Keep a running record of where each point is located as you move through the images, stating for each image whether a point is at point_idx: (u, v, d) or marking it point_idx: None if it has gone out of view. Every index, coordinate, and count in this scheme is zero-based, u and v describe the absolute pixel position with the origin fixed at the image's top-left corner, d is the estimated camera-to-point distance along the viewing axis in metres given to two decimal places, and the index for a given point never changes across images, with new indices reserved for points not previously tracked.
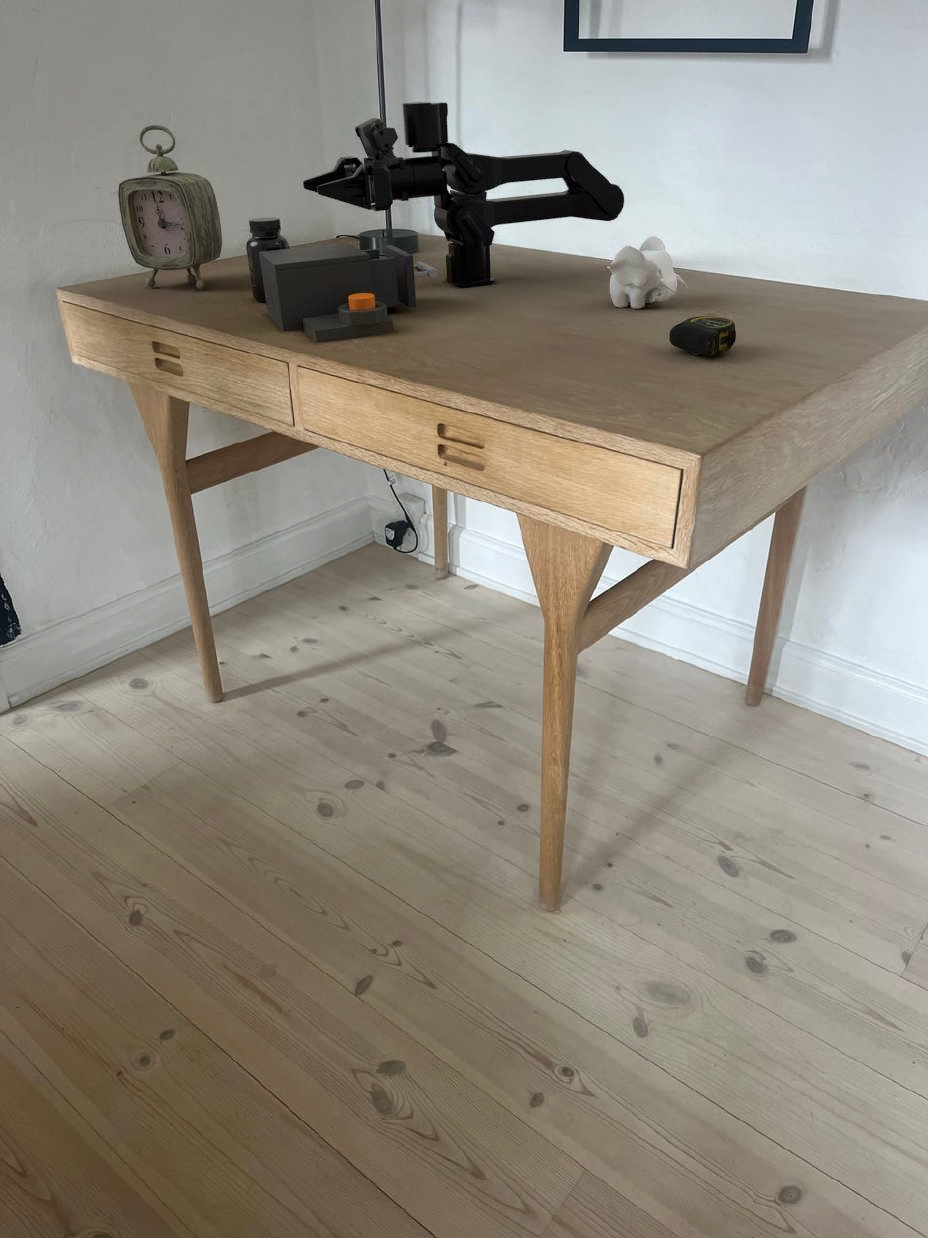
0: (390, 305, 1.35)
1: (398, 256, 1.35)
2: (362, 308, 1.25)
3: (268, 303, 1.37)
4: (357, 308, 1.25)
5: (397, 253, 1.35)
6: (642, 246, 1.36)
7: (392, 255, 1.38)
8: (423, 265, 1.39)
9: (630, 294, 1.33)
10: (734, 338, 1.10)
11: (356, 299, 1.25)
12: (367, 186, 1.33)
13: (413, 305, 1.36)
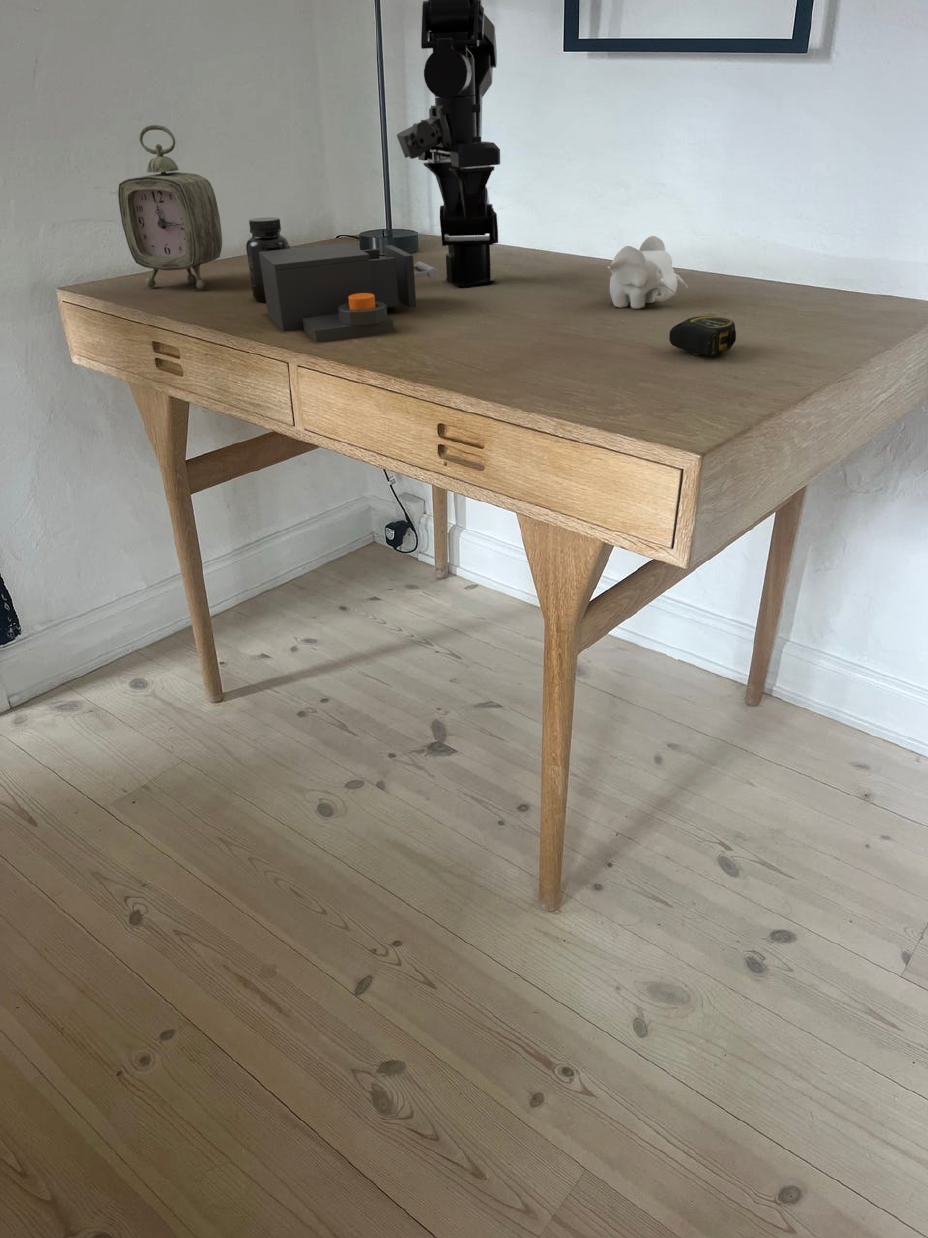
0: (390, 305, 1.35)
1: (398, 256, 1.35)
2: (362, 308, 1.25)
3: (268, 303, 1.37)
4: (357, 308, 1.25)
5: (397, 253, 1.35)
6: (642, 246, 1.36)
7: (392, 255, 1.38)
8: (423, 265, 1.39)
9: (630, 294, 1.33)
10: (734, 338, 1.10)
11: (356, 299, 1.25)
12: (474, 170, 1.28)
13: (413, 305, 1.36)
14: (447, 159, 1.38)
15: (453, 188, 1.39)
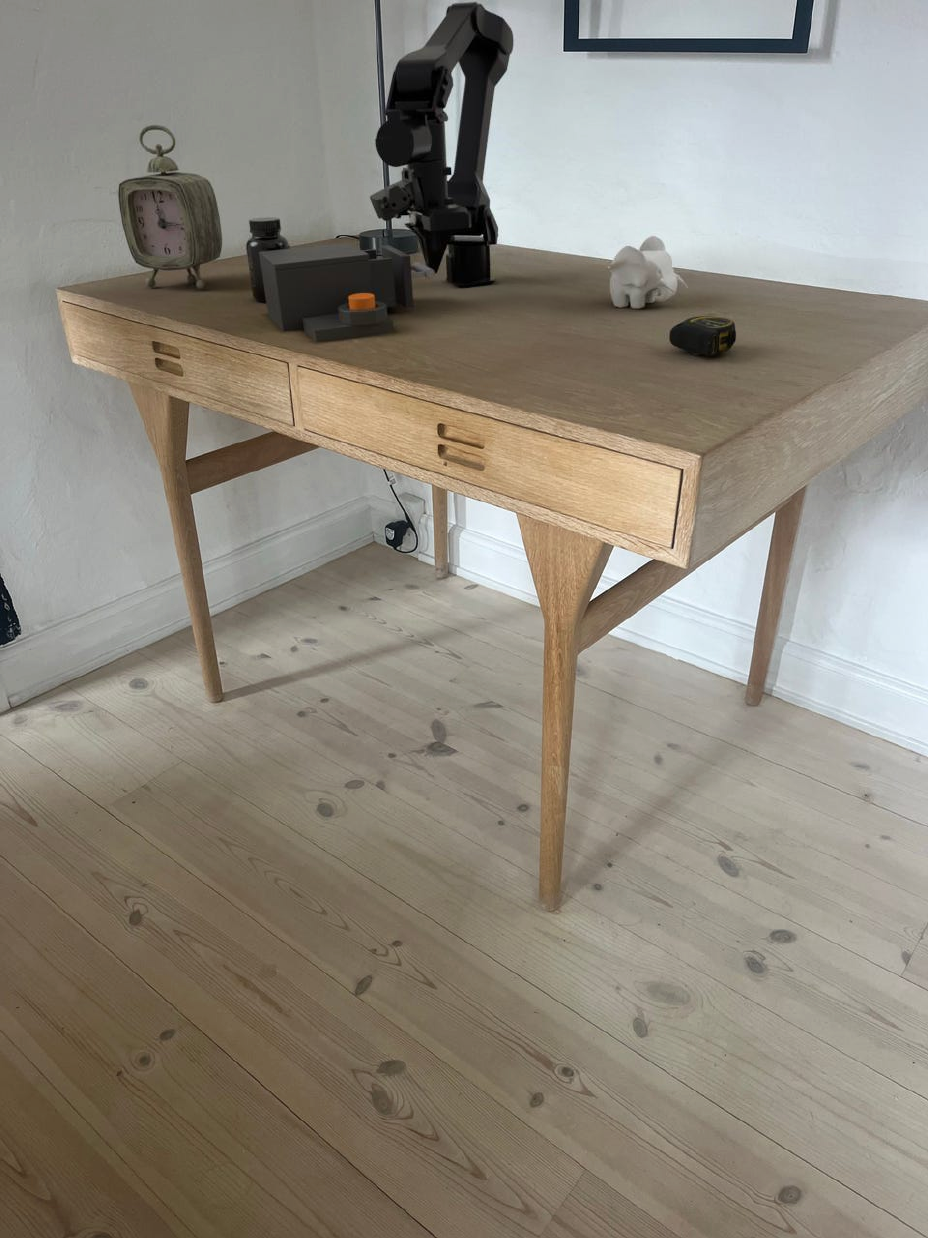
0: (387, 305, 1.35)
1: (395, 256, 1.35)
2: (362, 308, 1.25)
3: (268, 303, 1.37)
4: (357, 308, 1.25)
5: (394, 253, 1.35)
6: (642, 246, 1.36)
7: (389, 255, 1.38)
8: (420, 265, 1.39)
9: (630, 294, 1.33)
10: (734, 338, 1.10)
11: (356, 299, 1.25)
12: None
13: (410, 305, 1.36)
14: None
15: None
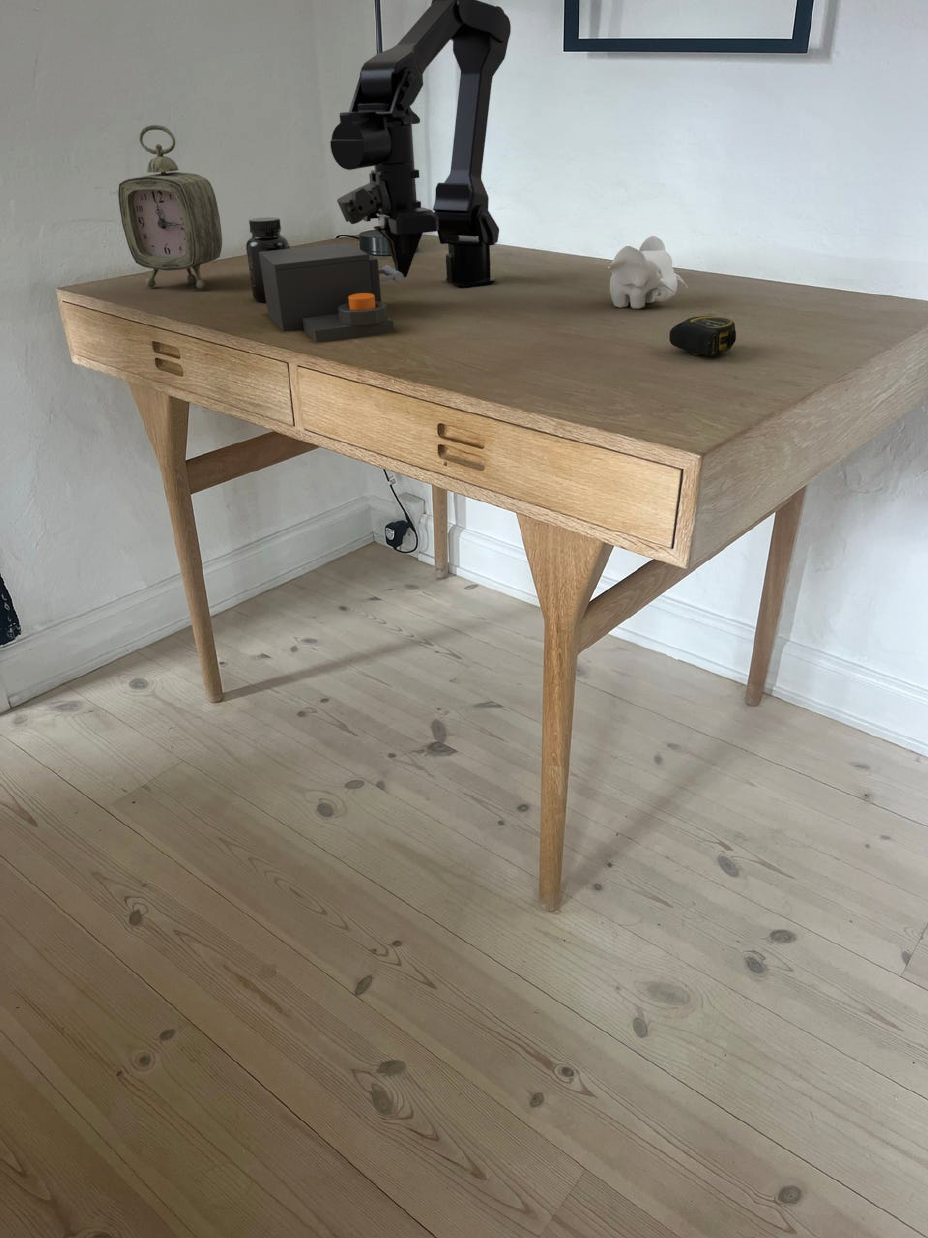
0: None
1: None
2: (362, 308, 1.25)
3: (268, 303, 1.37)
4: (357, 308, 1.25)
5: None
6: (642, 246, 1.36)
7: None
8: (389, 269, 1.38)
9: (630, 294, 1.33)
10: (734, 338, 1.10)
11: (356, 299, 1.25)
12: None
13: None
14: None
15: None
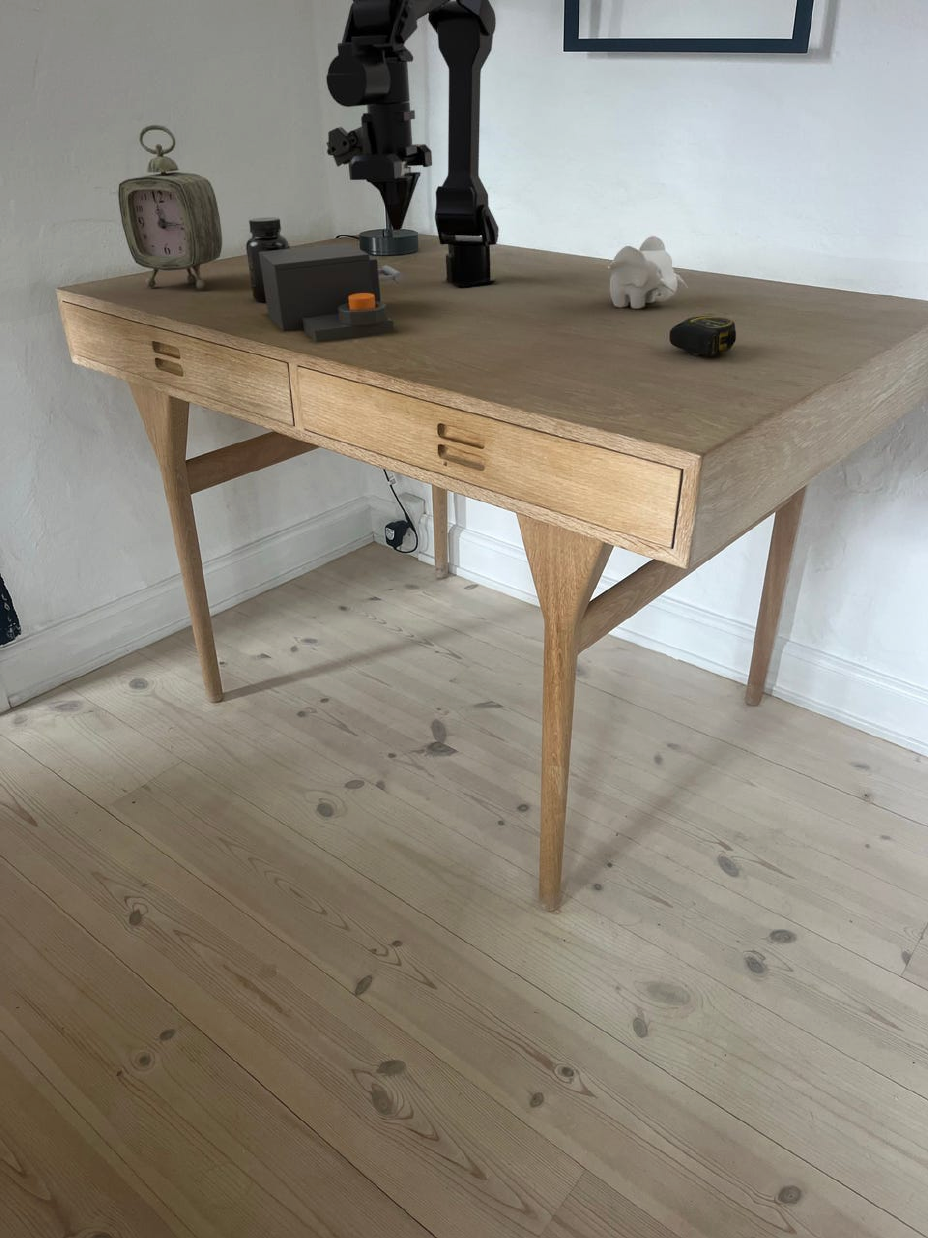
0: None
1: None
2: (362, 308, 1.25)
3: (268, 303, 1.37)
4: (357, 308, 1.25)
5: None
6: (642, 246, 1.36)
7: None
8: (389, 269, 1.38)
9: (630, 294, 1.33)
10: (734, 338, 1.10)
11: (356, 299, 1.25)
12: (383, 180, 1.23)
13: None
14: None
15: None
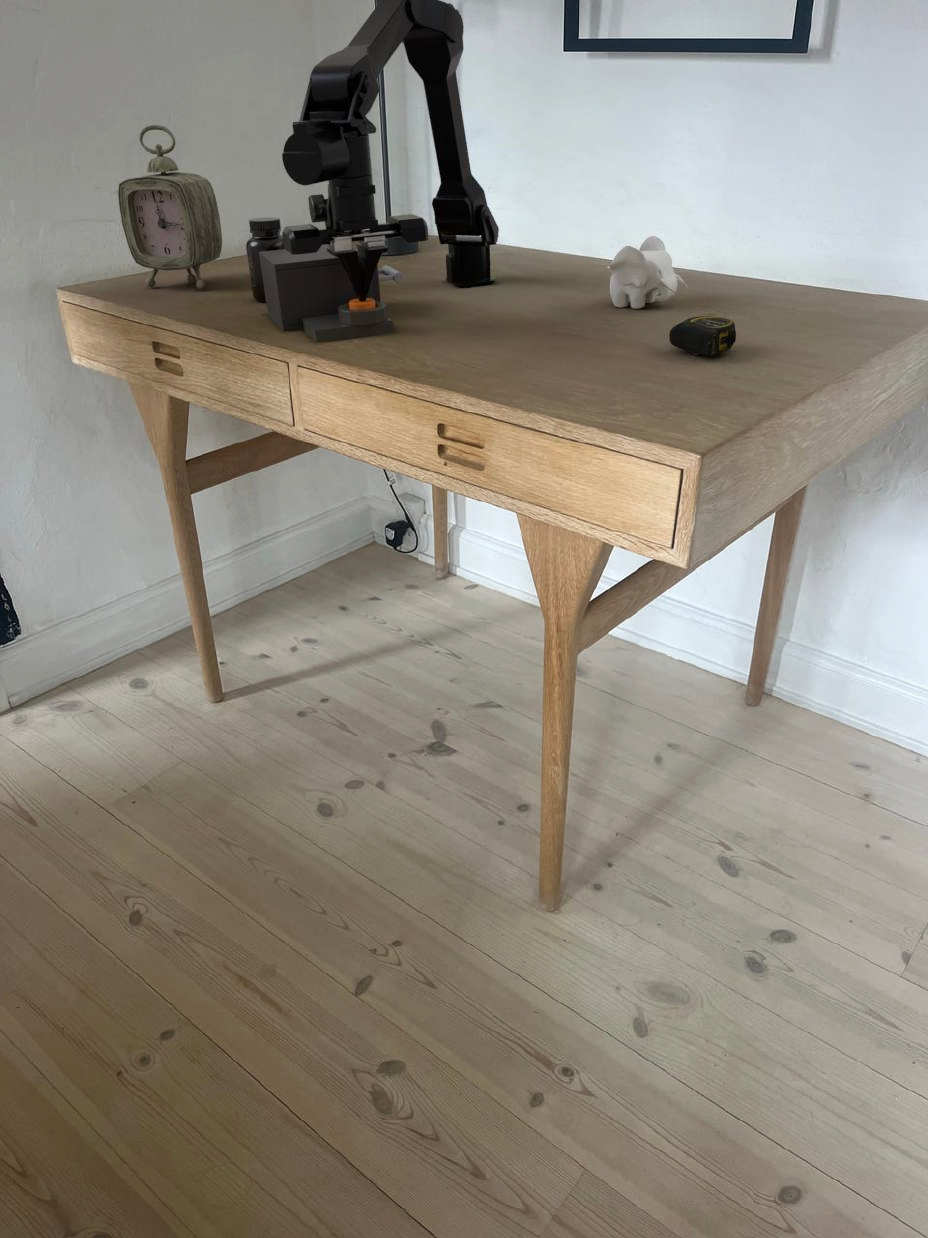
0: None
1: None
2: None
3: (268, 303, 1.37)
4: None
5: None
6: (642, 246, 1.36)
7: None
8: (389, 269, 1.38)
9: (630, 294, 1.33)
10: (734, 338, 1.10)
11: (357, 304, 1.25)
12: (330, 252, 1.22)
13: None
14: (364, 243, 1.23)
15: (362, 275, 1.24)
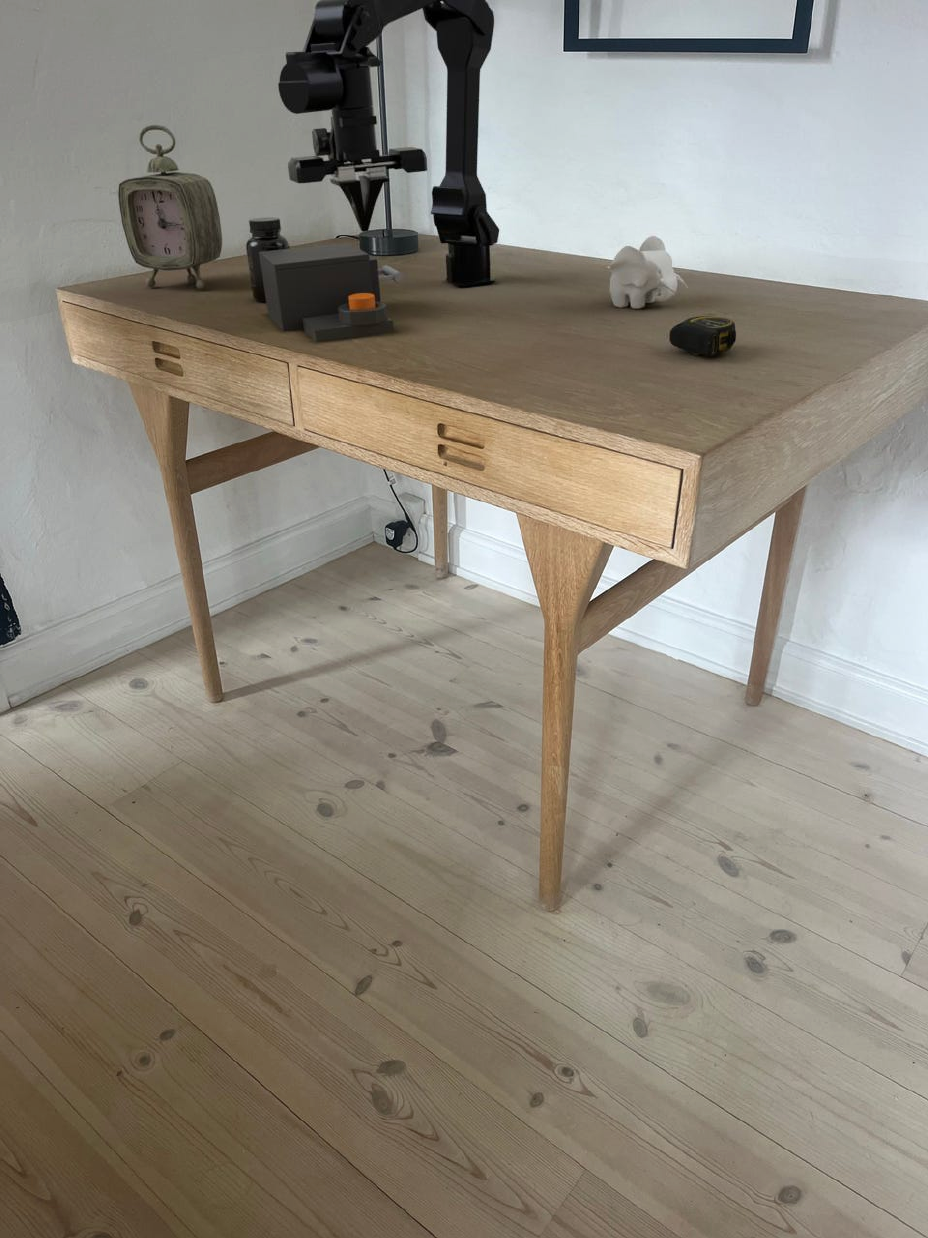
0: None
1: None
2: (362, 308, 1.25)
3: (268, 303, 1.37)
4: (357, 308, 1.25)
5: None
6: (642, 246, 1.36)
7: None
8: (389, 269, 1.38)
9: (630, 294, 1.33)
10: (734, 338, 1.10)
11: (356, 299, 1.25)
12: (334, 182, 1.28)
13: None
14: (366, 174, 1.29)
15: (365, 205, 1.30)
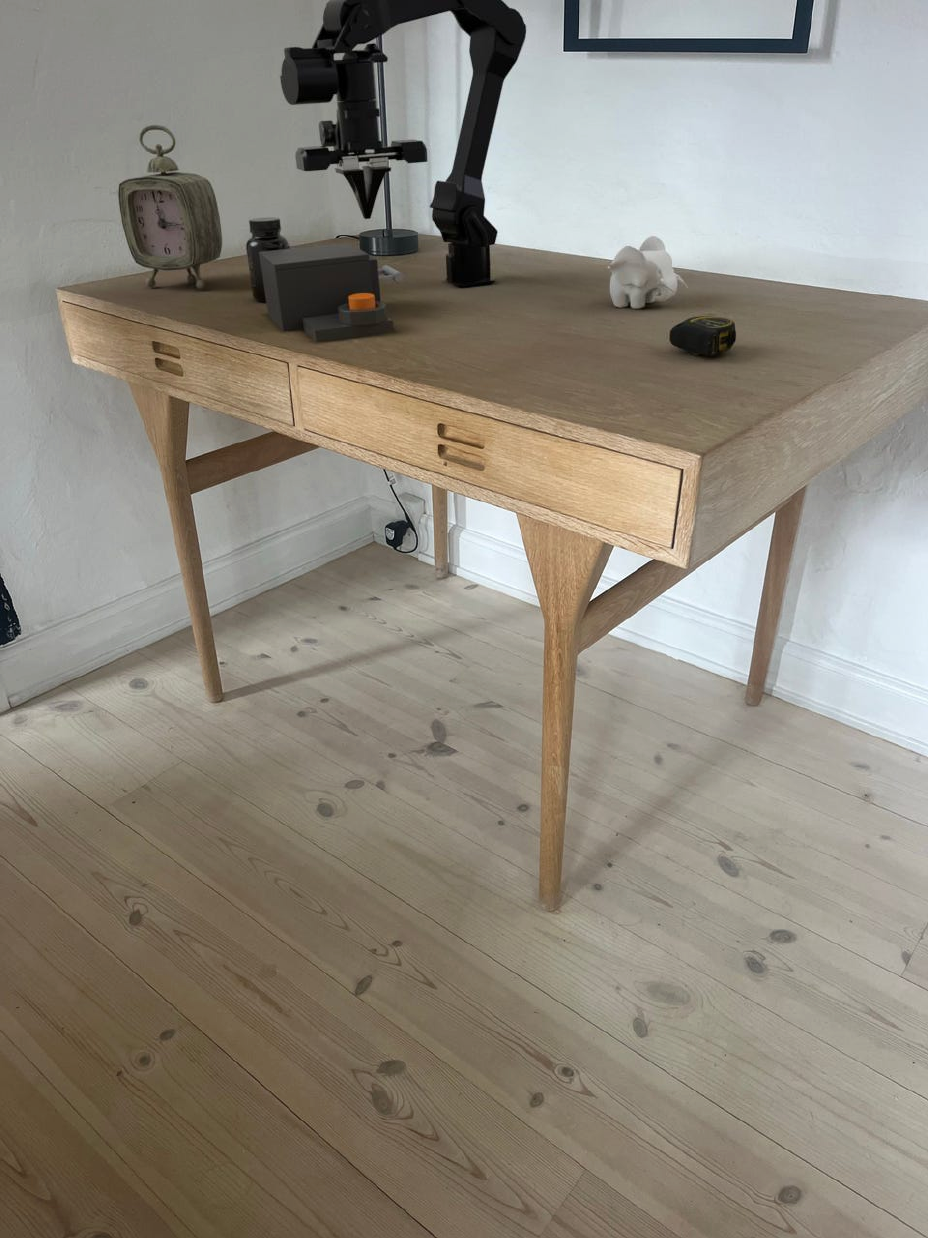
0: None
1: None
2: (362, 308, 1.25)
3: (268, 303, 1.37)
4: (357, 308, 1.25)
5: None
6: (642, 246, 1.36)
7: None
8: (389, 269, 1.38)
9: (630, 294, 1.33)
10: (734, 338, 1.10)
11: (356, 299, 1.25)
12: (338, 171, 1.35)
13: None
14: (369, 164, 1.36)
15: (367, 194, 1.37)
